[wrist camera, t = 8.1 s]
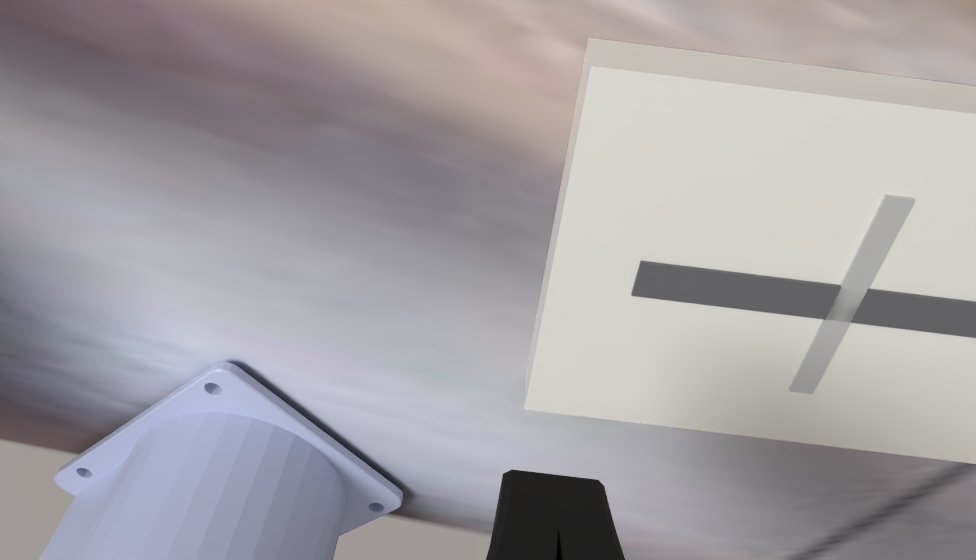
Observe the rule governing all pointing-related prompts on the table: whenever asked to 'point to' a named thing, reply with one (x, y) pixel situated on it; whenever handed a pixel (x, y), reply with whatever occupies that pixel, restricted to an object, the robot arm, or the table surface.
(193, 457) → the robot arm
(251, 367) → the table surface
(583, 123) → the fader console
